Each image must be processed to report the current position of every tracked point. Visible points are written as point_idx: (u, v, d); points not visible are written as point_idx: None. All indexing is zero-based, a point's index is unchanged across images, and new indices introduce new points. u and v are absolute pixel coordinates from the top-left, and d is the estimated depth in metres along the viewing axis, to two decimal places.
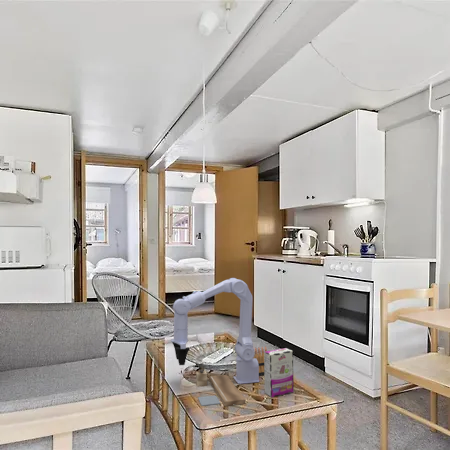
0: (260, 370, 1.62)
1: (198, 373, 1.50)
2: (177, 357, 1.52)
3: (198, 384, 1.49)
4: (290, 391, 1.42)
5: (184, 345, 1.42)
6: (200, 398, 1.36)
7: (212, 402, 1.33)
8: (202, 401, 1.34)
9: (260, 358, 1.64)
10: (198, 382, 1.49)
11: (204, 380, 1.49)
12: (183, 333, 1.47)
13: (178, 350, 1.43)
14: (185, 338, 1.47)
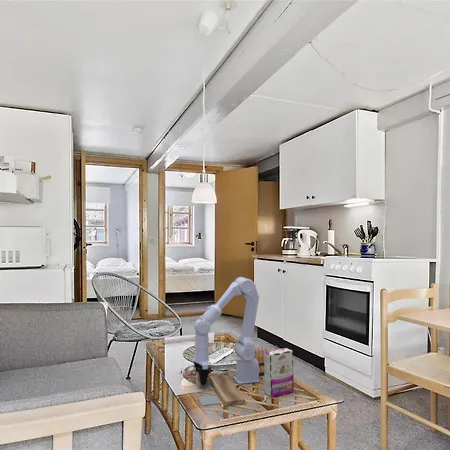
0: (260, 370, 1.62)
1: (198, 373, 1.50)
2: None
3: (198, 384, 1.49)
4: (290, 391, 1.42)
5: (206, 365, 1.44)
6: (200, 398, 1.36)
7: (212, 402, 1.33)
8: (202, 401, 1.34)
9: (260, 358, 1.64)
10: (198, 382, 1.49)
11: None
12: (204, 353, 1.49)
13: (200, 370, 1.45)
14: (206, 358, 1.49)
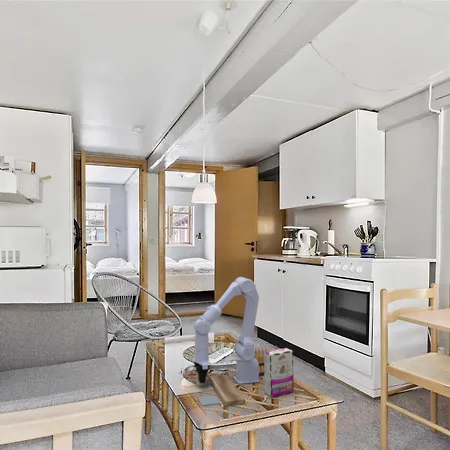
0: (260, 370, 1.62)
1: None
2: None
3: (198, 384, 1.49)
4: (290, 391, 1.42)
5: (206, 365, 1.44)
6: (200, 398, 1.36)
7: (212, 402, 1.33)
8: (202, 401, 1.34)
9: (260, 358, 1.64)
10: (198, 382, 1.49)
11: None
12: (204, 353, 1.49)
13: (199, 369, 1.47)
14: (206, 358, 1.49)
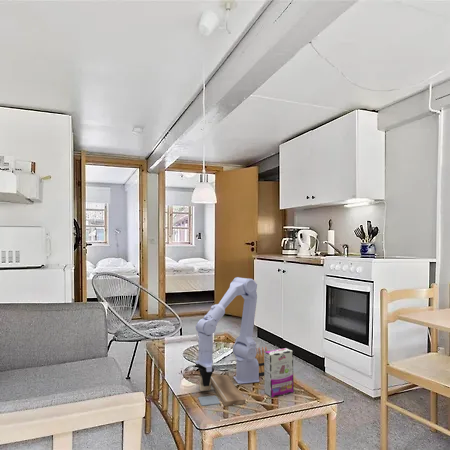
0: (260, 370, 1.62)
1: (201, 377, 1.43)
2: None
3: (201, 388, 1.42)
4: (290, 391, 1.42)
5: (210, 368, 1.37)
6: (200, 398, 1.36)
7: (212, 402, 1.33)
8: (202, 401, 1.34)
9: (260, 358, 1.64)
10: (201, 386, 1.42)
11: None
12: (208, 355, 1.42)
13: (203, 371, 1.40)
14: (210, 360, 1.42)
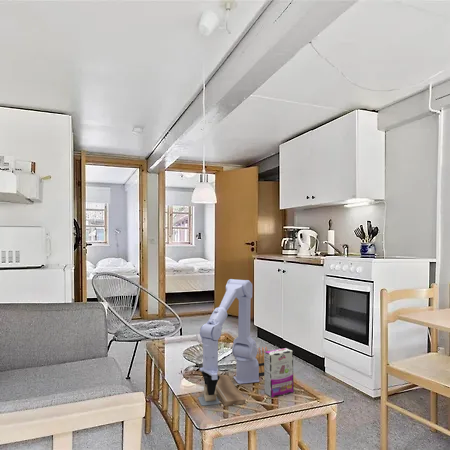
0: (260, 370, 1.62)
1: (206, 386, 1.35)
2: None
3: (206, 398, 1.33)
4: (290, 391, 1.42)
5: (216, 376, 1.29)
6: (200, 398, 1.36)
7: (212, 402, 1.33)
8: (202, 401, 1.34)
9: (260, 358, 1.64)
10: (206, 396, 1.34)
11: None
12: (213, 361, 1.34)
13: (208, 379, 1.31)
14: (215, 367, 1.34)
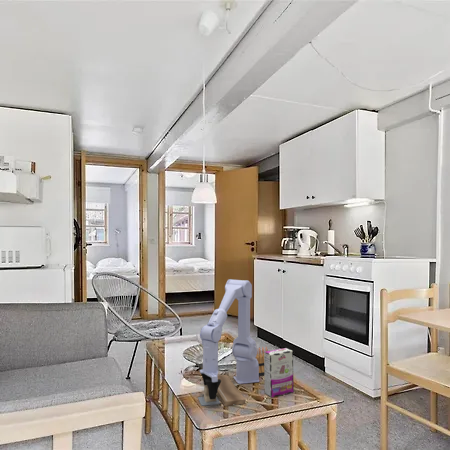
0: (260, 370, 1.62)
1: (206, 387, 1.35)
2: None
3: (206, 399, 1.33)
4: (290, 391, 1.42)
5: (216, 378, 1.29)
6: (200, 398, 1.36)
7: (212, 402, 1.33)
8: (202, 401, 1.34)
9: (260, 358, 1.64)
10: (206, 397, 1.33)
11: None
12: (213, 363, 1.33)
13: (209, 383, 1.29)
14: (216, 369, 1.34)
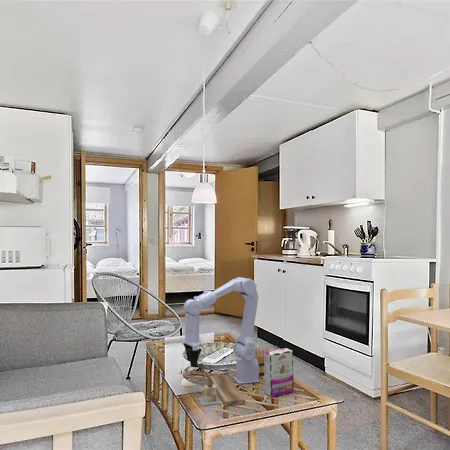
0: (260, 370, 1.62)
1: (206, 387, 1.35)
2: (188, 359, 1.49)
3: (206, 399, 1.33)
4: (290, 391, 1.42)
5: (196, 346, 1.39)
6: (200, 398, 1.36)
7: (212, 402, 1.33)
8: (202, 401, 1.34)
9: (260, 358, 1.63)
10: (206, 397, 1.33)
11: (213, 395, 1.34)
12: (195, 334, 1.44)
13: (190, 351, 1.40)
14: (197, 339, 1.45)
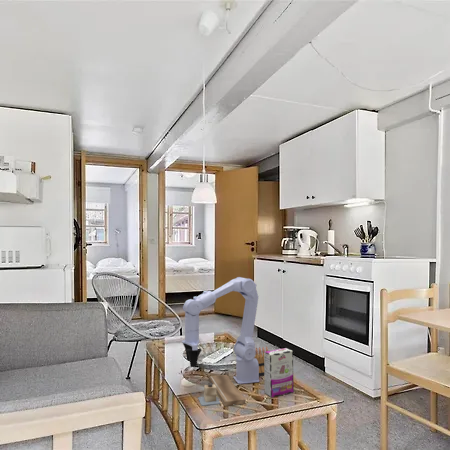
0: (260, 370, 1.61)
1: (206, 387, 1.35)
2: (188, 358, 1.49)
3: (206, 399, 1.33)
4: (290, 391, 1.42)
5: (196, 346, 1.40)
6: (200, 398, 1.36)
7: (212, 402, 1.33)
8: (202, 401, 1.34)
9: (260, 358, 1.63)
10: (206, 397, 1.33)
11: (213, 395, 1.34)
12: (194, 334, 1.44)
13: (190, 351, 1.40)
14: (196, 339, 1.45)
